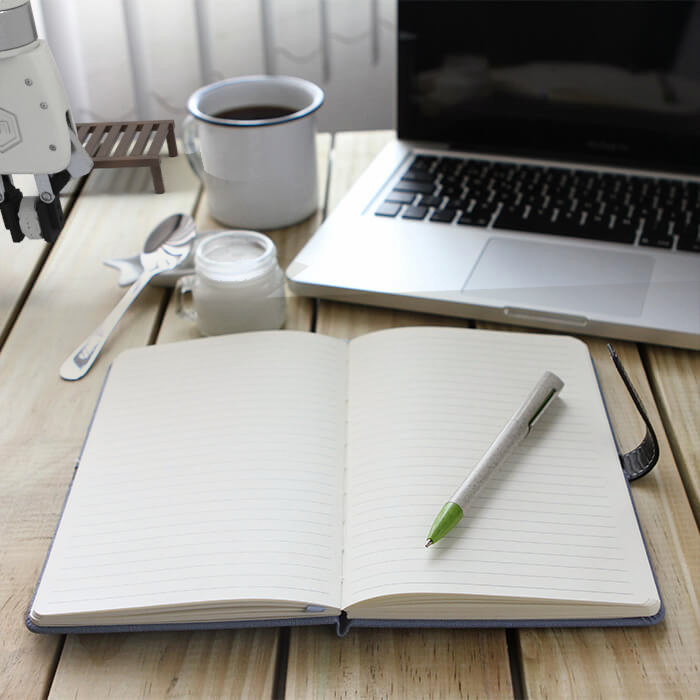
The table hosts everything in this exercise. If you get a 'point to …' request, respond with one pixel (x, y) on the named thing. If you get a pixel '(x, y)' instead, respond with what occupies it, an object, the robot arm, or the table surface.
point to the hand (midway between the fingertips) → (37, 234)
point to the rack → (136, 156)
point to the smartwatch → (30, 218)
